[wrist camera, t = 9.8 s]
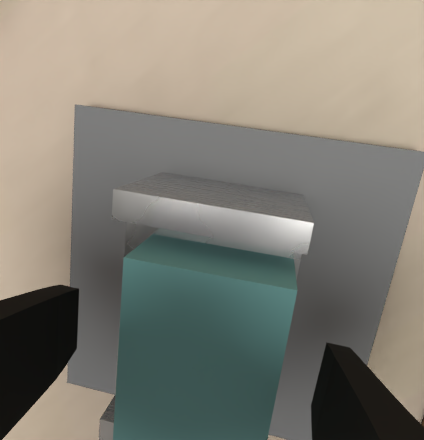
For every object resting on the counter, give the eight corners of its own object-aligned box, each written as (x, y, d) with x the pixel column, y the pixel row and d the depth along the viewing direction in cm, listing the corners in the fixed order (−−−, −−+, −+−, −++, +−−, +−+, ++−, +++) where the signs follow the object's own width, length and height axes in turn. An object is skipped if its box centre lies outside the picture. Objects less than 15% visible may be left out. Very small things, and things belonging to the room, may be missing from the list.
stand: (337, 432, 15) (341, 453, 14) (79, 368, 17) (67, 382, 16) (416, 151, 12) (428, 152, 11) (89, 106, 14) (74, 104, 13)
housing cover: (260, 428, 11) (256, 490, 9) (139, 398, 12) (112, 450, 10) (293, 258, 10) (297, 290, 8) (153, 233, 10) (123, 257, 8)
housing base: (263, 389, 14) (257, 484, 10) (145, 361, 15) (98, 440, 11) (303, 194, 12) (313, 223, 8) (162, 171, 13) (113, 189, 9)
